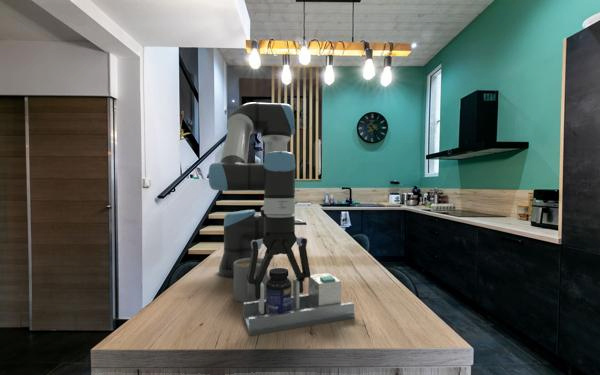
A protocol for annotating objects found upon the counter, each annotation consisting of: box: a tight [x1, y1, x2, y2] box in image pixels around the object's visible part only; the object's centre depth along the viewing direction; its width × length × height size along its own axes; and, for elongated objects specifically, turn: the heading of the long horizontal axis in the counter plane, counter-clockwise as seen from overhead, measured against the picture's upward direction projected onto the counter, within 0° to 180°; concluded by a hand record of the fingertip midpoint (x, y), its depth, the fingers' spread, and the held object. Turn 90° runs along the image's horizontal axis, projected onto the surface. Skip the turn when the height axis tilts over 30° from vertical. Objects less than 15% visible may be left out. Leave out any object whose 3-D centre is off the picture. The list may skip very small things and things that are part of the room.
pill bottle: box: [265, 267, 292, 315], centre depth 69 cm, size 6×6×11 cm
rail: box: [242, 272, 355, 337], centre depth 71 cm, size 10×26×10 cm, turn 109°
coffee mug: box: [233, 257, 268, 303], centre depth 83 cm, size 13×10×10 cm
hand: (279, 308), depth 69 cm, fingers open, 8 cm apart
